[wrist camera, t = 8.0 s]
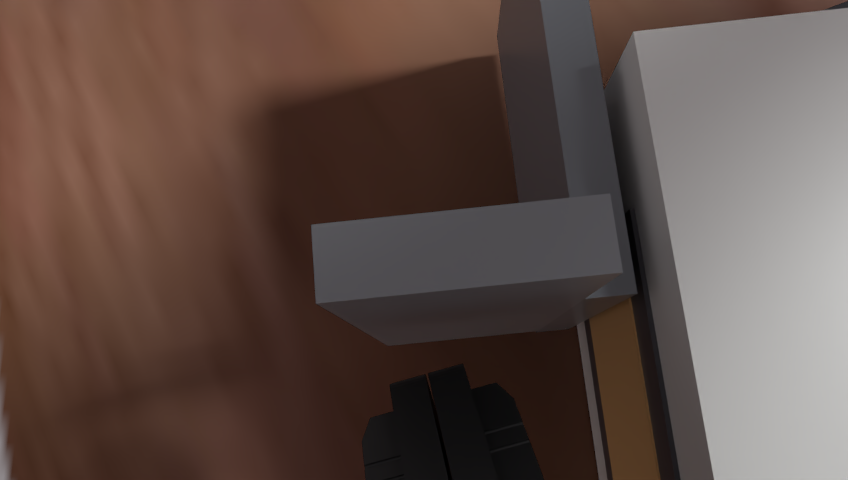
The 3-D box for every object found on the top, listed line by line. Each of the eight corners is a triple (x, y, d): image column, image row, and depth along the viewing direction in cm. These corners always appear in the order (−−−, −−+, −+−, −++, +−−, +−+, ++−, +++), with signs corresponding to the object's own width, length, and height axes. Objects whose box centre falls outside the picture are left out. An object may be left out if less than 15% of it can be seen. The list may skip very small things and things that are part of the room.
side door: (526, 33, 23) (589, -288, 12) (568, 329, 20) (692, 265, 10) (365, 50, 23) (282, -250, 12) (389, 346, 21) (316, 303, 10)
